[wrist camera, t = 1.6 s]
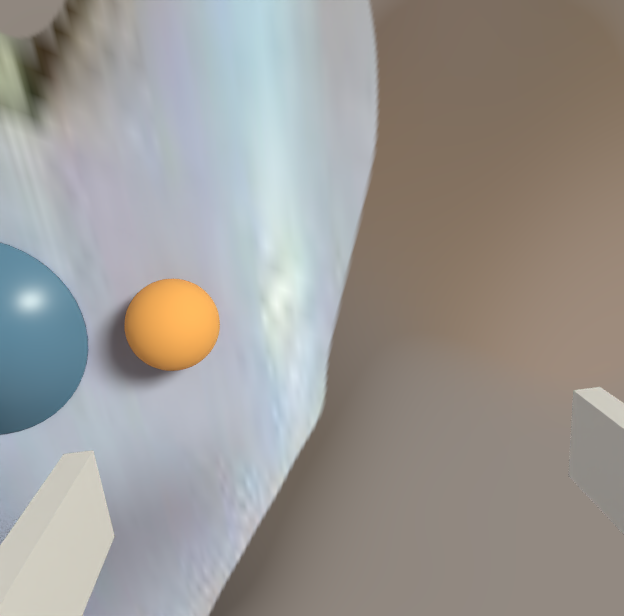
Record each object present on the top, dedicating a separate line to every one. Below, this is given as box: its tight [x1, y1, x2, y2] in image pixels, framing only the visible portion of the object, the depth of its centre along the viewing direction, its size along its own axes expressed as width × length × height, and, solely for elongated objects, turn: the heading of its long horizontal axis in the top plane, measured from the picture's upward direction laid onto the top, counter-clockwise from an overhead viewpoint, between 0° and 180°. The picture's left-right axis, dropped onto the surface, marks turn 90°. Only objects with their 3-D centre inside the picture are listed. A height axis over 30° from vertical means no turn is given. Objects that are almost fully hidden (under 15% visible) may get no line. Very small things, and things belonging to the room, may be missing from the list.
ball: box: [125, 279, 220, 371], centre depth 31 cm, size 6×6×6 cm
